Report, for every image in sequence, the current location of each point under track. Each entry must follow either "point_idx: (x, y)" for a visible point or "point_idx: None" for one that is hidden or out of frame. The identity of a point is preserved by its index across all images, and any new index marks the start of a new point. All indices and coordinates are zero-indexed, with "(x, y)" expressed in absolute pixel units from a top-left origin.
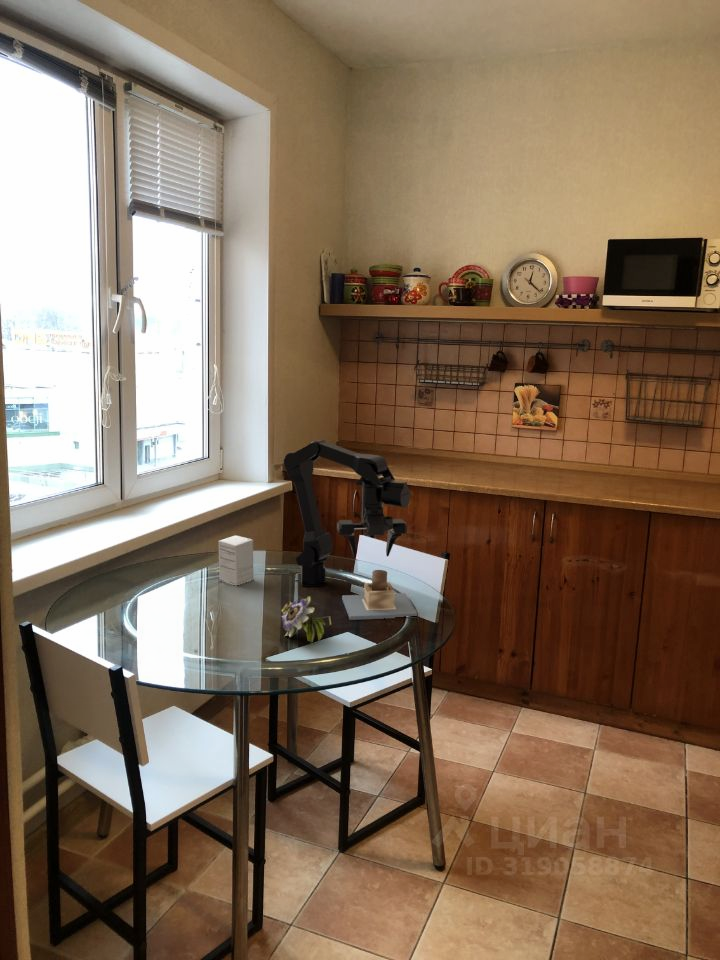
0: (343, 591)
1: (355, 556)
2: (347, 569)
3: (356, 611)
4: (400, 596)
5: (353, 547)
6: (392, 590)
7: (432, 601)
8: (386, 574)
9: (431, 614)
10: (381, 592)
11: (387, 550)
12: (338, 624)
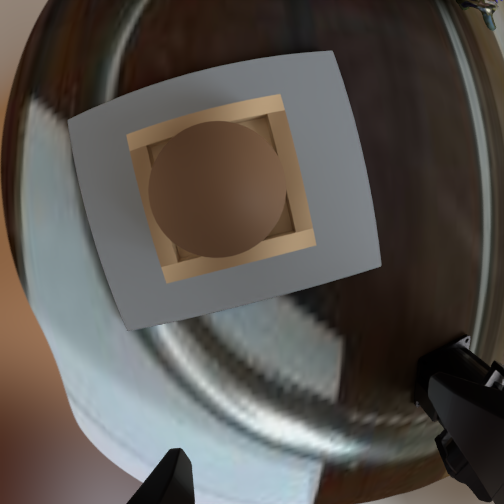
0: (366, 335)
1: (436, 376)
2: (336, 472)
3: (314, 94)
4: (138, 293)
5: (501, 400)
6: (138, 144)
7: (41, 288)
8: (155, 164)
9: (33, 163)
10: (203, 111)
11: (172, 485)
12: (357, 27)
